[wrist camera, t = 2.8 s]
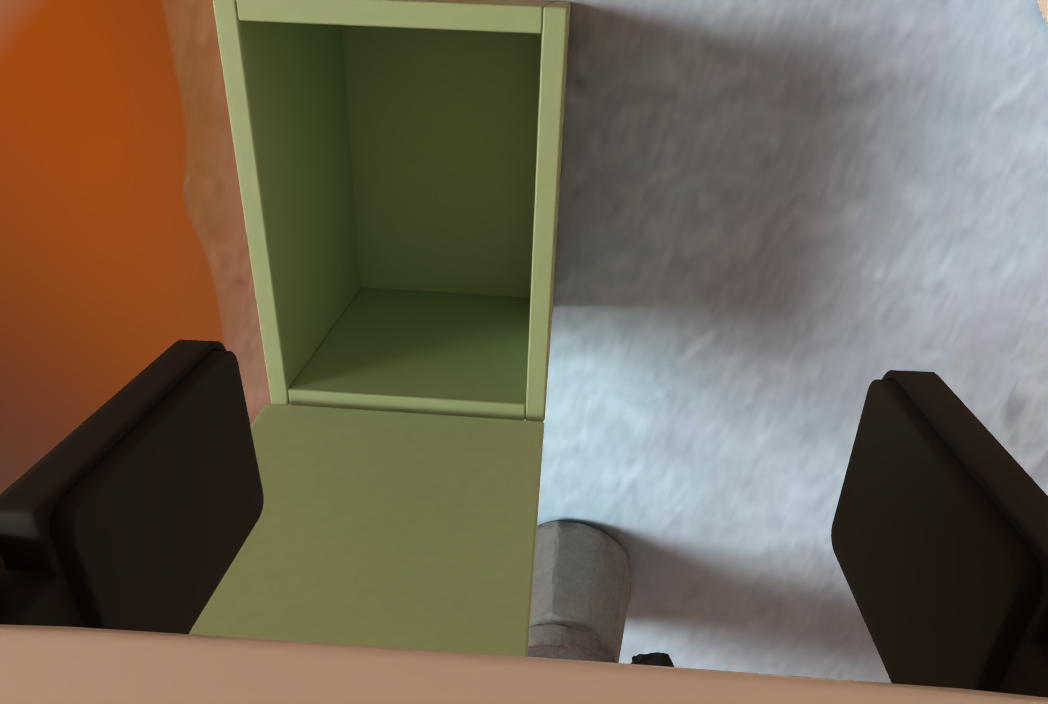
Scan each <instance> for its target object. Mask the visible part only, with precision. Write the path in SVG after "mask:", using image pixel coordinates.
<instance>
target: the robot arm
mask: <svg viewBox="0 0 1048 704" xmlns="http://www.w3.org/2000/svg"><path fill="white" fill-rule="evenodd" d="M1037 2H1038V7H1039V9H1040V11H1041V13H1042V16H1043V18H1044V20H1045V22H1046V24H1047V27H1048V0H1037ZM263 503H264V495H263V488H262V483H261V478H260V473H259V468H258V463H257V458H256V453H255V448H254V442H253V437H252V432H251V427H250V422H249V417H248V412H247V407H246V402H245V397H244V392H243V386H242V381H241V376H240V371H239V366H238V361H237V358H236V356H235V354H234V353H233V352H231V351H226V349H225V347H224V346H223V344H222V343H220V342H218V341H197V340H179V341H177V342H175V343H174V344H173V345H172V346H171V347H169V348H168V349H167V350H166V351H165V352H164V353H162V354H161V355H160V356H159V357H158V358H157V359H156V360H154V361H153V362H152V363H151V364H150V365H149V366H148V367H146V368H145V369H144V370H143V371H142V372H141V373H139V374H138V375H137V376H136V377H135V378H134V379H133V380H132V381H130V382H129V383H128V384H127V385H126V386H125V387H124V388H122V389H121V390H120V391H119V392H118V393H117V394H115V395H114V396H113V397H112V398H111V399H110V400H109V401H107V402H106V403H105V404H104V405H103V406H102V407H100V408H99V409H98V410H97V411H96V412H95V413H94V414H92V415H91V416H90V417H89V418H88V419H87V420H86V421H84V422H83V423H82V424H81V425H80V426H79V427H78V428H76V429H75V430H74V431H73V432H72V433H71V434H70V435H68V436H67V437H66V438H65V439H64V440H62V441H61V442H60V443H59V444H58V445H57V446H56V447H55V448H53V449H52V450H51V451H50V452H49V453H48V454H47V455H45V456H44V457H43V458H42V459H41V460H40V461H38V462H37V463H36V464H35V465H34V466H33V467H32V468H30V469H29V470H28V471H27V472H26V473H25V474H23V475H22V476H21V477H20V478H19V479H18V480H17V481H15V482H14V483H13V484H12V485H11V486H10V487H8V488H7V489H6V490H5V491H4V492H3V493H2V494H1V495H0V704H1048V496H1047V495H1046V494H1045V493H1044V491H1043V490H1042V489H1041V488H1040V487H1039V486H1038V485H1037V484H1036V483H1035V482H1034V480H1033V479H1032V478H1031V477H1030V476H1029V475H1028V474H1027V473H1026V472H1025V471H1024V469H1023V468H1022V467H1021V466H1020V465H1019V464H1018V463H1017V462H1016V461H1015V460H1014V458H1013V457H1012V456H1011V455H1010V454H1009V453H1008V452H1007V451H1006V450H1005V449H1004V447H1003V446H1002V445H1001V444H1000V443H999V442H998V441H997V440H996V439H995V438H994V436H993V435H992V434H991V433H990V432H989V431H988V430H987V429H986V428H985V427H984V425H983V424H982V423H981V422H980V421H979V420H978V419H977V418H976V417H975V416H974V414H973V413H972V412H971V411H970V410H969V409H968V408H967V407H966V406H965V405H964V403H963V402H962V401H961V400H960V399H959V398H958V397H957V396H956V395H955V394H954V392H953V391H952V390H951V389H950V388H949V387H948V386H947V385H946V384H945V383H944V381H943V380H942V379H941V378H940V377H939V376H938V375H937V374H935V373H934V372H919V371H896V370H890V371H888V372H887V373H886V374H885V375H884V377H883V378H882V380H874V381H872V383H871V384H870V386H869V389H868V392H867V396H866V400H865V404H864V407H863V411H862V415H861V419H860V422H859V426H858V430H857V434H856V438H855V441H854V445H853V449H852V453H851V456H850V460H849V464H848V468H847V472H846V475H845V479H844V483H843V487H842V490H841V494H840V498H839V502H838V506H837V509H836V513H835V517H834V521H833V524H832V532H831V538H832V546H833V550H834V553H835V555H836V557H837V560H838V562H839V564H840V566H841V569H842V571H843V573H844V575H845V578H846V580H847V582H848V584H849V587H850V589H851V591H852V594H853V596H854V598H855V600H856V603H857V605H858V607H859V609H860V612H861V614H862V616H863V618H864V621H865V623H866V625H867V627H868V630H869V632H870V634H871V637H872V639H873V641H874V643H875V646H876V648H877V650H878V652H879V655H880V657H881V659H882V661H883V664H884V666H885V668H886V671H887V673H888V675H889V677H890V680H891V682H892V683H880V682H866V681H853V680H839V679H826V678H813V677H799V676H786V675H773V674H759V673H746V672H732V671H719V670H706V669H692V668H679V667H665V666H652V665H638V664H624V663H610V662H596V661H582V660H567V659H553V658H539V657H525V656H511V655H496V654H482V653H467V652H452V651H438V650H423V649H408V648H394V647H379V646H364V645H349V644H333V643H318V642H302V641H287V640H271V639H256V638H240V637H224V636H209V635H193V634H189V632H190V631H191V629H192V627H193V626H194V624H195V623H196V621H197V619H198V618H199V616H200V614H201V613H202V611H203V609H204V608H205V606H206V605H207V603H208V601H209V600H210V598H211V596H212V595H213V593H214V591H215V590H216V588H217V587H218V585H219V583H220V582H221V580H222V578H223V577H224V575H225V573H226V572H227V570H228V569H229V567H230V565H231V564H232V562H233V560H234V559H235V557H236V555H237V554H238V552H239V551H240V549H241V547H242V546H243V544H244V542H245V541H246V539H247V537H248V536H249V534H250V533H251V531H252V529H253V528H254V526H255V524H256V523H257V521H258V519H259V517H260V515H261V513H262V509H263Z"/></svg>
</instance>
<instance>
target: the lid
mask: <svg viewBox="0 0 1048 704" xmlns="http://www.w3.org/2000/svg"><path fill="white" fill-rule="evenodd" d="M251 432H252V437H253V442H254V448H255V453H256V458H257V463H258V468H259V473H260V478H261V483H262V488H263V495H264V503H263V509H262V513H261V515H260V517H259V519H258V521H257V523H256V524H255V526H254V528H253V529H252V531H251V533H250V534H249V536H248V537H247V539H246V541H245V542H244V544H243V546H242V547H241V549H240V551H239V552H238V554H237V555H236V557H235V559H234V560H233V562H232V564H231V565H230V567H229V569H228V570H227V572H226V573H225V575H224V577H223V578H222V580H221V582H220V583H219V585H218V587H217V588H216V590H215V591H214V593H213V595H212V596H211V598H210V600H209V601H208V603H207V605H206V606H205V608H204V609H203V611H202V613H201V614H200V616H199V618H198V619H197V621H196V623H195V624H194V626H193V627H192V629H191V631H190V632H189V634H193V635H209V636H224V637H240V638H256V639H271V640H287V641H302V642H318V643H333V644H349V645H364V646H379V647H394V648H408V649H423V650H438V651H452V652H467V653H482V654H496V655H511V656H525V657H527V655H528V641H529V627H530V614H531V600H532V586H533V572H534V558H535V544H536V530H537V517H538V503H539V489H540V475H541V461H542V447H543V433H544V423H543V422H539V421H524V420H509V419H494V418H479V417H463V416H448V415H433V414H418V413H403V412H387V411H372V410H357V409H342V408H326V407H311V406H296V405H281V404H265V405H264V407H263V408H262V410H261V411H260V413H259V415H258V416H257V418H256V419H255V421H254V422H253V424H252V426H251Z"/></svg>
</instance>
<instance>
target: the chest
mask: <svg viewBox="0 0 1048 704" xmlns="http://www.w3.org/2000/svg"><path fill="white" fill-rule="evenodd" d="M213 6H214V13H215V20H216V27H217V33H218V40H219V47H220V54H221V61H222V68H223V75H224V81H225V88H226V95H227V102H228V109H229V116H230V123H231V129H232V136H233V143H234V150H235V157H236V164H237V171H238V177H239V184H240V191H241V198H242V205H243V212H244V219H245V225H246V232H247V239H248V246H249V253H250V260H251V267H252V273H253V280H254V287H255V294H256V301H257V308H258V315H259V322H260V328H261V335H262V342H263V349H264V356H265V363H266V370H267V376H268V383H269V390H270V397H271V403H272V404H281V405H289V404H290V405H296V406H312V407H327V408H342V409H357V410H372V411H388V412H403V413H418V414H433V415H448V416H464V417H479V418H494V419H509V420H525V419H526V420H527V421H539V422H543V421H544V418H545V405H546V391H547V378H548V365H549V351H550V338H551V324H552V311H553V295H554V278H555V261H556V244H557V227H558V210H559V193H560V176H561V159H562V142H563V125H564V108H565V92H566V75H567V58H568V41H569V24H570V7H571V3H570V2H569V1H545V0H213Z"/></svg>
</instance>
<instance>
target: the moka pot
mask: <svg viewBox="0 0 1048 704" xmlns="http://www.w3.org/2000/svg"><path fill="white" fill-rule="evenodd" d="M630 590H631V582H630V565H629V555H628V554H627V552H626V551H625V550H624V549H623V548H622V547H621V546H620V545H619V544H618V543H617V542H616V541H615V540H614V539H612V538H611V537H610V536H608V535H607V534H605V533H603V532H601V531H599V530H597V529H595V528H593V527H591V526H588V525H583V524H579V523H573V522H564V521H553V522H548V523H543V524H542V525H537V530H536V544H535V558H534V572H533V586H532V600H531V614H530V627H529V641H528V655H527V657H539V658H553V659H567V660H582V661H596V662H610V663H618V662H619V656H620V650H621V645H622V639H623V632H624V625H625V618H626V613H627V607H628V602H629V597H630ZM631 664H638V665H652V666H665V667H674V665H673V663H672V661H671V659H670V657H669V655H668V654H665V653H658V652H657V653H650V654H638V655H637V656H633V657H632V663H631Z"/></svg>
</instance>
